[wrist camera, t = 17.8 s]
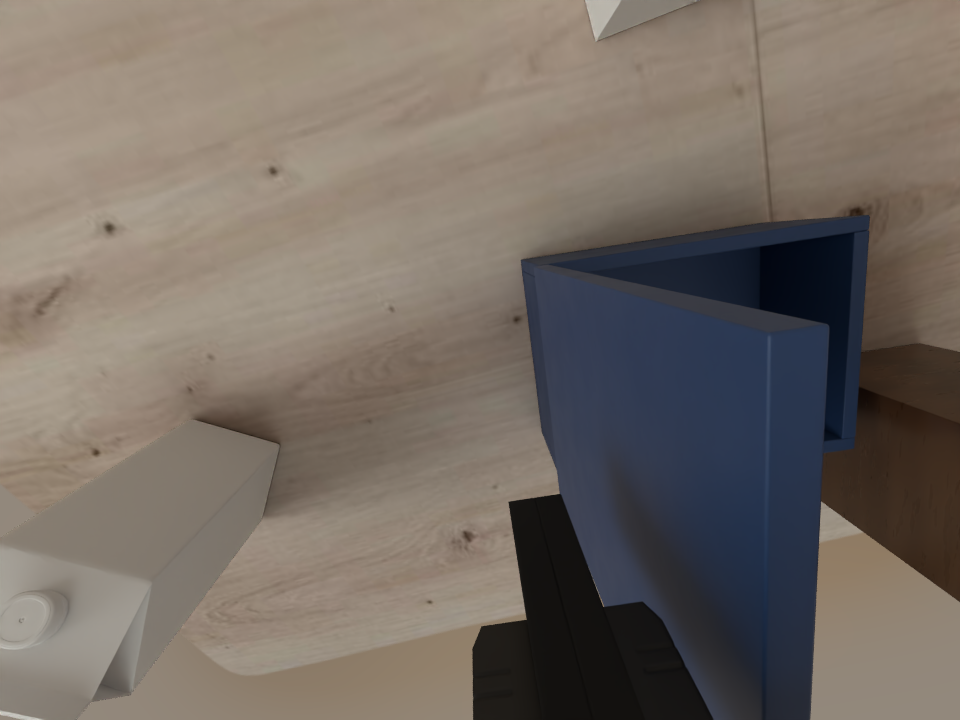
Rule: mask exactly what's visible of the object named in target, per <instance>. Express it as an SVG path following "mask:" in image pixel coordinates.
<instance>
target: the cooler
mask: <svg viewBox="0 0 960 720" xmlns="http://www.w3.org/2000/svg"><path fill="white" fill-rule="evenodd" d="M869 221H870V216H869V215H861V216H847V217H834V218H820V219H807V220H793V221H779V222H765V223H758V224H752V225H745V226H738V227H732V228H725V229H719V230H712V231H706V232H699V233H693V234H686V235H679V236H673V237H666V238H660V239H653V240H647V241H640V242H634V243H627V244H620V245H614V246H607V247H601V248H594V249H588V250H581V251H575V252H568V253H562V254H555V255H548V256H542V257H535V258H529V259H522V260H521V265H522V273H523V281H524V290H525V298H526V306H527V314H528V322H529V330H530V339H531V347H532V355H533V363H534V371H535V379H536V388H537V396H538V404H539V412H540V420H541V428H542V434H543V436H544V439H545V441H546V444H547V446H548V449H549V451H550V454H551V456H552V459H553V461H554V464H555V467H556V469H557V465H556V456H555V448H554V439H553V431H552V422H551V413H550V405H549V396H548V387H547V379H546V370H545V362H544V353H543V344H542V336H541V327H540V318H539V310H538V301H537V292H536V284H535V275H534V267H535V266H541V265H552V266H557V267H561V268H566V269H571V270H575V271H580V272H585V273H590V274H594V275H599V276H604V277H608V278H613V279H618V280H622V281H627V282H632V283H636V284H641V285H646V286H651V287H655V288H660V289H665V290H669V291H674V292H679V293H683V294H688V295H693V296H697V297H702V298H707V299H712V300H716V301H721V302H726V303H730V304H735V305H740V306H744V307H749V308H754V309H758V310H763V311H768V312H773V313H777V314H782V315H787V316H791V317H796V318H801V319H805V320H810V321H815V322H819V323H824V324H827V325H829V347H828V367H827V388H826V408H825V429H824V449H823V453H828V452H835V451H842V450H849V449H854V444H855V434H856V419H857V404H858V389H859V375H860V360H861V345H862V331H863V316H864V301H865V286H866V272H867V257H868V242H869V231H868V229H869Z"/></svg>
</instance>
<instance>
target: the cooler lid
mask: <svg viewBox="0 0 960 720" xmlns="http://www.w3.org/2000/svg"><path fill="white" fill-rule="evenodd" d="M534 275H535V284H536V292H537V301H538V310H539V318H540V327H541V336H542V344H543V353H544V362H545V370H546V379H547V387H548V396H549V405H550V413H551V422H552V431H553V439H554V448H555V456H556V465H557V474H558V482H559V491H560V494H561V495H562V498H563V500H564V503H565V506H566V508H567V511H568V514H569V516H570V519H571V522H572V525H573V527H574V530H575V533H576V535H577V538H578V541H579V543H580V546H581V549H582V551H583V554H584V557H585V559H586V562H587V564H588V567H589V569H590V572H591V574H592V577H593V579H594V582H595V584H596V587H597V589H598V592H599V594H600V597H601V599H602V601H603V604H604V607H607V606H614V605H621V604H628V603H634V602H641V601H643V602H644V603H645V604H646V605H647V606H648V607H649V608H650V609H651V610H652V611H654V612H655V613H656V614H657V615H658V616H659V617H660V618H661V619H662V620H663V622H664V624H665V626H666V628H667V630H668V632H669V634H670V636H671V638H672V640H673V642H674V645H675V647H677V649H678V651H679V653H680V655H681V657H682V659H683V661H684V664H685V667H686V668H687V669H688V671H689V672H690V674H691V676H692V678H693V680H694V682H695V684H696V686H697V688H698V690H699V692H700V694H701V696H702V698H703V700H704V702H705V703H706V705H707V707H708V709H709V711H710V713H711V715H712V717H713V719H714V720H810V713H811V694H812V674H813V652H814V632H815V612H816V592H817V571H818V549H819V531H820V510H821V490H822V469H823V449H824V429H825V408H826V388H827V367H828V347H829V325H827V324H824V323H819V322H815V321H810V320H805V319H801V318H796V317H791V316H787V315H782V314H777V313H773V312H768V311H763V310H758V309H754V308H749V307H744V306H740V305H735V304H730V303H726V302H721V301H716V300H712V299H707V298H702V297H697V296H693V295H688V294H683V293H679V292H674V291H669V290H665V289H660V288H655V287H651V286H646V285H641V284H636V283H632V282H627V281H622V280H618V279H613V278H608V277H604V276H599V275H594V274H590V273H585V272H580V271H575V270H571V269H566V268H561V267H557V266H552V265H541V266H535V267H534Z"/></svg>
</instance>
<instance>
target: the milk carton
mask: <svg viewBox="0 0 960 720" xmlns="http://www.w3.org/2000/svg"><path fill="white" fill-rule="evenodd" d="M279 448H280V445H279V444H277V443H274V442H270V441H267V440H263V439H260V438H256V437H253V436H249V435H246V434H242V433H239V432H235V431H232V430H228V429H225V428H221V427H218V426H214V425H211V424H207V423H204V422H200V421H196V420H192V419H189V420H187V421H186V422H184V423H182V424H181V425H179V426H178V427H176V428H174V429H173V430H171V431H170V432H168V433H166V434H165V435H163V436H162V437H160V438H158V439H157V440H155V441H154V442H152V443H150V444H149V445H147V446H146V447H144V448H142V449H141V450H139V451H138V452H136V453H134V454H133V455H131V456H130V457H128V458H126V459H125V460H123V461H122V462H120V463H118V464H117V465H115V466H114V467H112V468H110V469H109V470H107V471H106V472H104V473H102V474H101V475H99V476H98V477H96V478H94V479H93V480H91V481H90V482H88V483H86V484H85V485H83V486H81V487H80V488H78V489H77V490H75V491H73V492H72V493H70V494H69V495H67V496H65V497H64V498H62V499H61V500H59V501H57V502H56V503H54V504H53V505H51V506H49V507H48V508H46V509H45V510H43V511H41V512H40V513H38V514H37V515H35V516H33V517H32V518H30V519H29V520H27V521H25V522H24V523H22V524H21V525H19V526H17V527H16V528H14V529H13V530H11V531H10V532H8V533H6V534H5V535H3V536H2V537H0V715H4V716H9V717H14V718H19V719H23V720H77V719H78V718H79V716H80V715H81V714H82V713H83V712H84V710H85V709H86V708H87V707H88V705H89V704H90V703H91V702H94V701H100V700H106V699H112V698H117V697H123V696H129V695H131V694H132V692H133V691H134V689H135V688H136V687H137V685H138V684H139V683H140V681H141V680H142V678H143V677H144V676H145V675H146V673H147V672H148V671H149V669H150V668H151V667H152V665H153V664H154V663H155V661H156V660H157V659H158V658H159V656H160V655H161V653H162V652H163V651H164V649H165V648H166V647H167V646H168V644H169V643H170V642H171V640H172V639H173V638H174V636H175V635H176V634H177V632H178V631H179V630H180V628H181V627H182V626H183V624H184V623H185V622H186V620H187V619H188V618H189V616H190V615H191V614H192V612H193V611H194V610H195V608H196V607H197V606H198V604H199V603H200V602H201V600H202V599H203V598H204V596H205V595H206V594H207V592H208V591H209V590H210V588H211V587H212V586H213V584H214V583H215V582H216V580H217V579H218V578H219V576H220V575H221V574H222V572H223V571H224V570H225V568H226V567H227V566H228V564H229V563H230V562H231V560H232V559H233V558H234V556H235V555H236V554H237V552H238V551H239V550H240V548H241V547H242V546H243V544H244V543H245V542H246V540H247V539H248V538H249V536H250V535H251V534H252V532H253V531H254V530H255V528H256V527H257V526H258V524H259V523H260V522H261V520H262V517H263V513H264V509H265V505H266V500H267V496H268V492H269V488H270V484H271V480H272V476H273V472H274V468H275V464H276V460H277V456H278V452H279Z"/></svg>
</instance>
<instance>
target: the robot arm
mask: <svg viewBox="0 0 960 720" xmlns="http://www.w3.org/2000/svg"><path fill="white" fill-rule="evenodd" d="M509 508H510V515H511V521H512V528H513V534H514V541H515V547H516V554H517V560H518V567H519V573H520V580H521V586H522V592H523V599H524V605H525V612H526V618H527V620H522V621H516V622H508V623H502V624H495V625H488V626H482V627H481V629H480V632H479V634H478V637H477V639H476V641H475V644H474V646H473V649H472V650H473V720H714V719H713V717H712V715H711V713H710V711H709V709H708V707H707V705H706V703H705V702H704V700H703V698H702V696H701V694H700V692H699V690H698V688H697V686H696V684H695V682H694V680H693V678H692V676H691V674H690V672H689V671H688V669H687V668H686V667H685V664H684V661H683V659H682V657H681V655H680V653H679V651H678V649H677V647H675V645H674V642H673V640H672V638H671V636H670V634H669V632H668V630H667V628H666V626H665V624H664V622H663V620H662V619H661V618H660V617H659V616H658V615H657V614H656V613H655V612H654V611H652V610H651V609H650V608H649V607H648V606H647V605H646V604H645V603H644V602H643V601H641V602H634V603H628V604H621V605H614V606H607V607H603V605H602V603H601V600H600V597H599V594H598V592H597V589H596V586H595V584H594V581H593V578H592V576H591V573H590V570H589V568H588V565H587V562H586V559H585V557H584V554H583V551H582V549H581V546H580V543H579V541H578V538H577V535H576V533H575V530H574V527H573V525H572V522H571V519H570V516H569V514H568V511H567V508H566V506H565V503H564V500H563V498H562V495H561V494H557V495H550V496H544V497H537V498H530V499H524V500H517V501H510V502H509Z"/></svg>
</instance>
